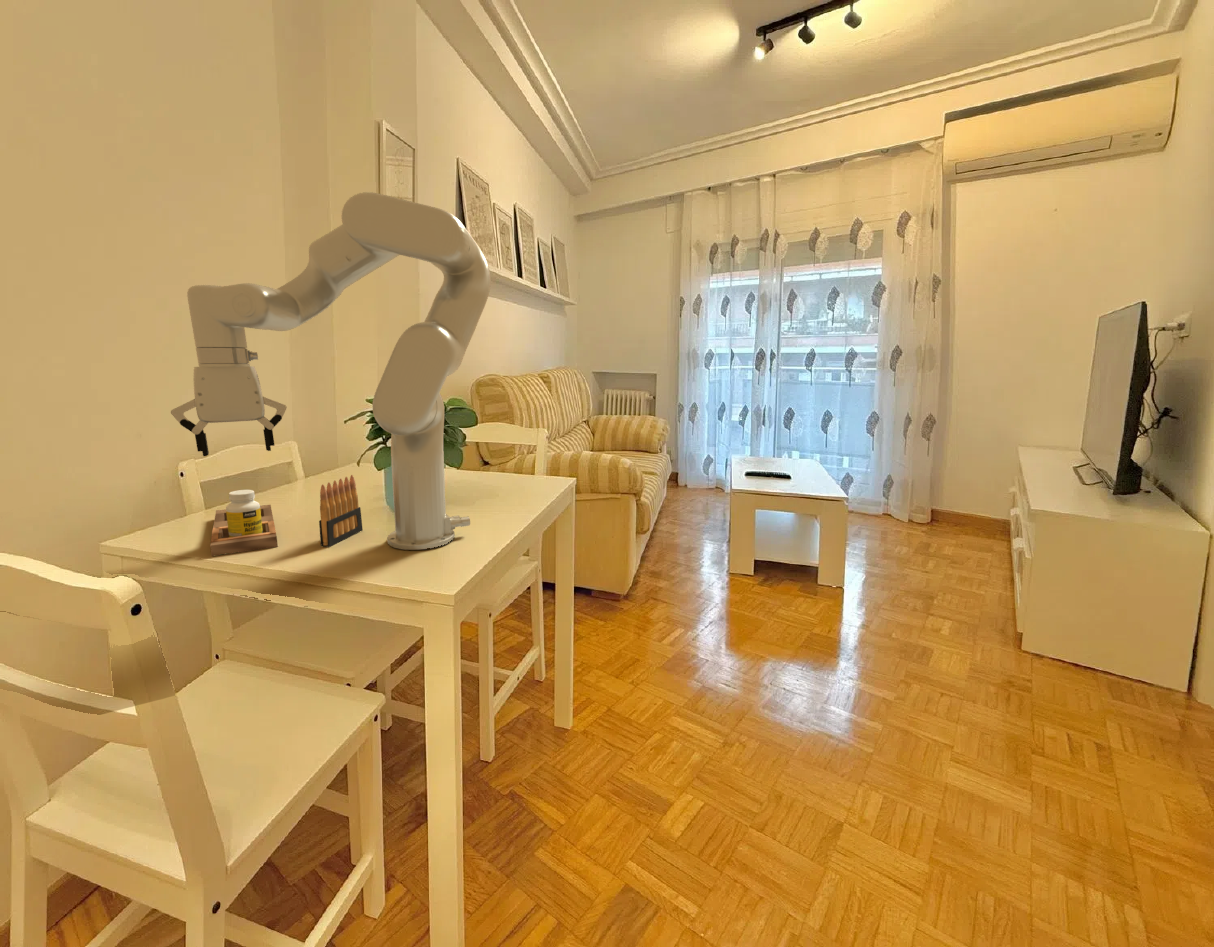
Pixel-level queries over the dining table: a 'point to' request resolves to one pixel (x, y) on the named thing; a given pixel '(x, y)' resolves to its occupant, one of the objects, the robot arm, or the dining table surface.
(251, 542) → the hole rail
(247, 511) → the supplement bottle
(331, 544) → the ammunition clip
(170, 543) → the dining table surface
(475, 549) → the dining table surface
